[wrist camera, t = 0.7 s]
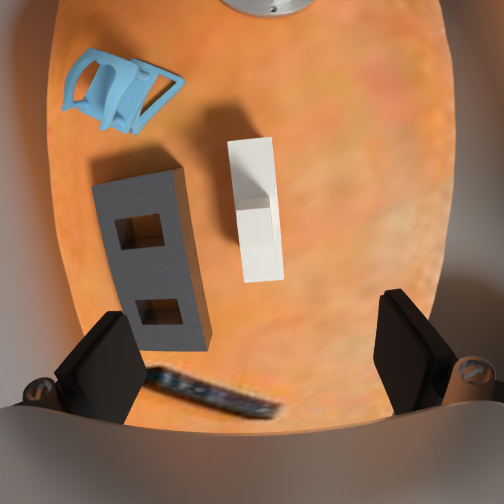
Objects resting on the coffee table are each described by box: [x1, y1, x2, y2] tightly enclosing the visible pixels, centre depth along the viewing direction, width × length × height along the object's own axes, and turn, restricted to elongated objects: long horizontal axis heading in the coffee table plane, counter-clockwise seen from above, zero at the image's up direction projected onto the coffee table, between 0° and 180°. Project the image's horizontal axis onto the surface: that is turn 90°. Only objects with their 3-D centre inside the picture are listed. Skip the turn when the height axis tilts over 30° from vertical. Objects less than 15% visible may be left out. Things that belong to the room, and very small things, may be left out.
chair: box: [62, 48, 186, 135], centre depth 24 cm, size 8×8×12 cm
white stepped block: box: [227, 137, 284, 283], centre depth 28 cm, size 14×4×10 cm, turn 6°
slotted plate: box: [92, 167, 212, 351], centre depth 34 cm, size 22×10×4 cm, turn 6°
